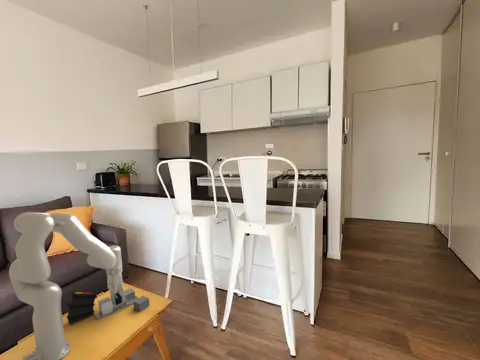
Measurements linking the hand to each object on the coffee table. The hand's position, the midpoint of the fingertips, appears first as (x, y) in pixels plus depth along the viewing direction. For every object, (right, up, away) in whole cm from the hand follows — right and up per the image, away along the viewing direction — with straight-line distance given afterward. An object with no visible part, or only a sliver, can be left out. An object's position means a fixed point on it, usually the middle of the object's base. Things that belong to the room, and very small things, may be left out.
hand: (117, 301), depth 137 cm
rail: (0, -4, +1) cm, 4 cm away
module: (0, -1, 0) cm, 1 cm away
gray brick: (+13, -4, +1) cm, 13 cm away
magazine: (-14, -5, -7) cm, 16 cm away
